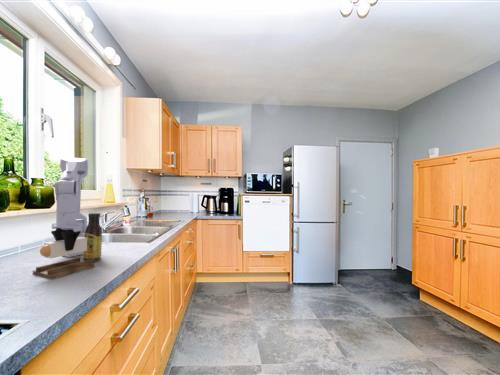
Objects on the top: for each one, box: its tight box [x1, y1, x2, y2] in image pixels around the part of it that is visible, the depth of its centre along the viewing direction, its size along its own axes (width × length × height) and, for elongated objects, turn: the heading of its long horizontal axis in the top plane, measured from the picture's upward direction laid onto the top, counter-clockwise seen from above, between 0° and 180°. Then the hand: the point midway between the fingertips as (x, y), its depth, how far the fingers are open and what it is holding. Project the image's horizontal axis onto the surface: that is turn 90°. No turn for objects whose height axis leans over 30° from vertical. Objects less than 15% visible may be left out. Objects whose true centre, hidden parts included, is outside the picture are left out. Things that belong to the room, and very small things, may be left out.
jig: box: [32, 256, 96, 280], centre depth 87 cm, size 14×12×2 cm
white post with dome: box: [39, 237, 87, 259], centre depth 86 cm, size 14×4×5 cm, turn 156°
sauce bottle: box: [82, 212, 103, 263], centre depth 99 cm, size 6×6×20 cm
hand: (65, 249), depth 87 cm, fingers closed on white post with dome, 4 cm apart
